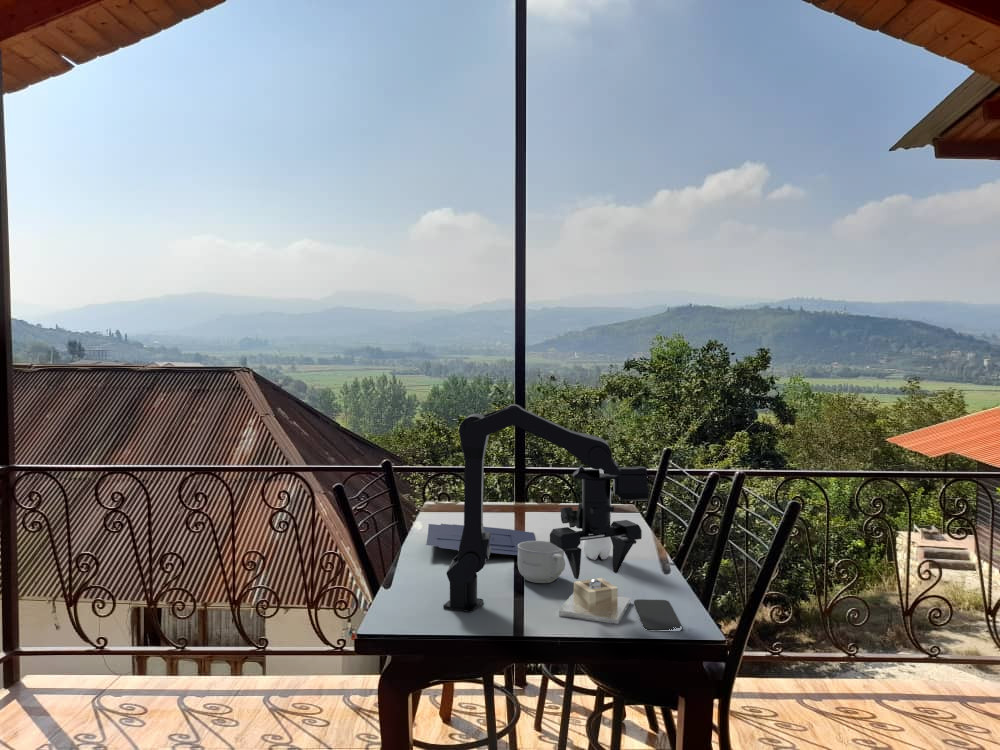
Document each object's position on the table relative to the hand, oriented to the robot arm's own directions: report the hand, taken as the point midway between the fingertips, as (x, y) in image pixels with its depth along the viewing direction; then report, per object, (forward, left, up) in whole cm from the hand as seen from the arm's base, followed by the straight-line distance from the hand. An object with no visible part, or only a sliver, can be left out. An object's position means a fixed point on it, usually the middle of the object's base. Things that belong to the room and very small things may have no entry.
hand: (596, 575), depth 144 cm
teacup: (+12, +15, -7) cm, 21 cm away
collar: (0, 0, -6) cm, 6 cm away
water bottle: (+34, +8, -7) cm, 36 cm away
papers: (+32, +38, -7) cm, 50 cm away
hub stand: (0, 0, -7) cm, 7 cm away
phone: (+1, -12, -8) cm, 14 cm away
